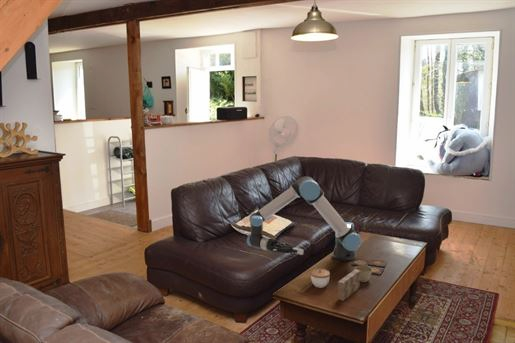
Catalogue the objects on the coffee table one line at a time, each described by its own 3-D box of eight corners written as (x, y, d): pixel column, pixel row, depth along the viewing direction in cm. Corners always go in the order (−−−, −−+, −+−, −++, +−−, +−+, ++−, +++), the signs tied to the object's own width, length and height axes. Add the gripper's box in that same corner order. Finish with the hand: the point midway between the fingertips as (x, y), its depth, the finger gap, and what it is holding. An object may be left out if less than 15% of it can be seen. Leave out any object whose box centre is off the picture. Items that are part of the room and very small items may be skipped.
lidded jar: (329, 290, 249) (329, 274, 248) (309, 288, 251) (309, 272, 250) (330, 282, 260) (330, 266, 258) (311, 280, 262) (311, 265, 260)
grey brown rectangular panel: (354, 286, 253) (355, 269, 252) (359, 287, 252) (360, 270, 250) (338, 299, 238) (338, 281, 236) (343, 300, 236) (343, 282, 234)
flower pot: (372, 277, 264) (373, 266, 263) (371, 284, 255) (371, 272, 253) (355, 276, 267) (355, 264, 266) (353, 282, 258) (353, 270, 257)
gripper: (275, 247, 279) (308, 255, 265) (263, 253, 269) (296, 261, 255) (275, 235, 278) (308, 242, 264) (263, 241, 268) (296, 249, 253)
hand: (302, 252), depth 259 cm, fingers closed
